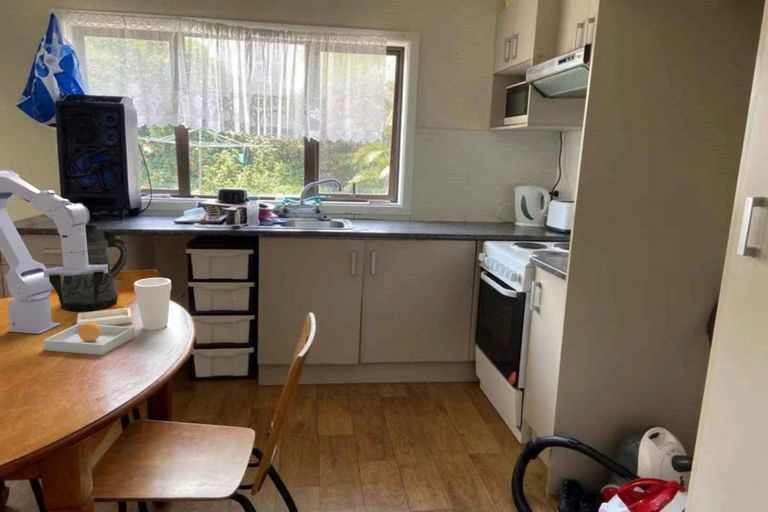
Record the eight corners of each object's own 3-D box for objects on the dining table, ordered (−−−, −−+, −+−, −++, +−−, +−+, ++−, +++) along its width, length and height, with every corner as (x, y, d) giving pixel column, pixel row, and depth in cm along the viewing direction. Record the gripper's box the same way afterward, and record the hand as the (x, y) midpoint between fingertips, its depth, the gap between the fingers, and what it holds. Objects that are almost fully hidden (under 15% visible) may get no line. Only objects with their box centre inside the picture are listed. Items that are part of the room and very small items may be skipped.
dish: (77, 329, 147) (76, 322, 146) (78, 319, 155) (78, 313, 154) (131, 323, 153) (131, 316, 152) (130, 314, 161) (130, 307, 160)
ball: (75, 344, 135) (72, 325, 134) (88, 336, 140) (86, 318, 139) (93, 345, 135) (91, 326, 133) (106, 337, 139) (103, 319, 138)
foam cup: (159, 333, 145) (157, 287, 143) (129, 330, 147) (126, 285, 145) (179, 322, 155) (177, 279, 152) (151, 319, 156) (148, 276, 154)
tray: (43, 350, 132) (42, 340, 131) (79, 332, 145) (78, 323, 144) (104, 355, 130) (103, 345, 130) (134, 336, 143) (134, 327, 142)
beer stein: (47, 308, 164) (38, 227, 159) (101, 292, 182) (95, 220, 177) (85, 315, 158) (77, 232, 153) (138, 299, 176) (132, 224, 170)
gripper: (40, 255, 131) (45, 308, 134) (106, 251, 138) (110, 302, 141) (42, 250, 138) (48, 301, 140) (106, 246, 144) (110, 295, 147)
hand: (79, 301), depth 141 cm, fingers open, 7 cm apart
